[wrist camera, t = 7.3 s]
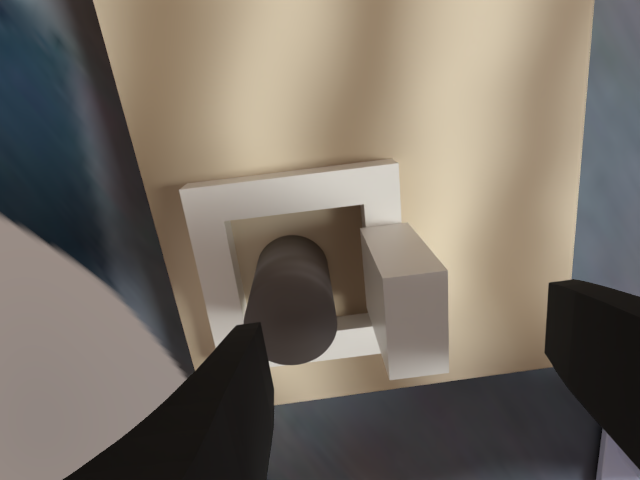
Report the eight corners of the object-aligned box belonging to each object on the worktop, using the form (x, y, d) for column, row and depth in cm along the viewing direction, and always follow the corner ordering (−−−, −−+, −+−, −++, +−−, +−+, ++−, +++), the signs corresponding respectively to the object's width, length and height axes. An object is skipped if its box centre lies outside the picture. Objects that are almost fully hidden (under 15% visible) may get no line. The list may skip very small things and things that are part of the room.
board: (570, -78, 13) (741, -185, 8) (544, 344, 19) (637, 440, 14) (108, -15, 13) (-13, -83, 8) (213, 390, 19) (181, 504, 14)
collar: (397, 157, 14) (447, 190, 9) (406, 334, 17) (449, 431, 12) (186, 183, 14) (130, 228, 9) (225, 357, 16) (196, 463, 12)
